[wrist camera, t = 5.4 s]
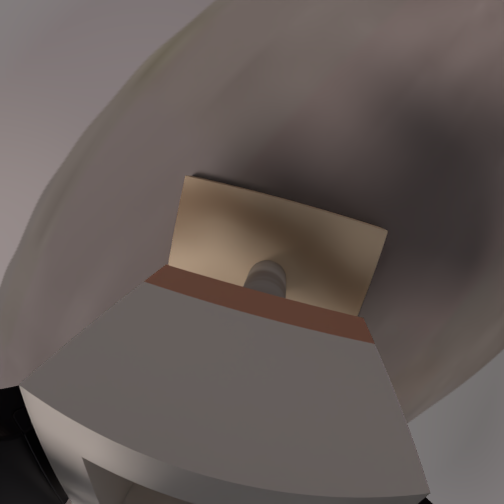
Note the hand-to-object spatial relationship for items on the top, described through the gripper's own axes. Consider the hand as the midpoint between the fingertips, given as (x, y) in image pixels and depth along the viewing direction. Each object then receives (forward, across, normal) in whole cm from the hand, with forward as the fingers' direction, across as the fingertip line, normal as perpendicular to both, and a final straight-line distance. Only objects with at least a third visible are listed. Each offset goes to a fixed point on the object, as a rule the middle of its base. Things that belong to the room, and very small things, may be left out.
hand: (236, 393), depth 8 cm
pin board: (+12, 0, +5) cm, 13 cm away
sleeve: (+1, 0, 0) cm, 1 cm away
